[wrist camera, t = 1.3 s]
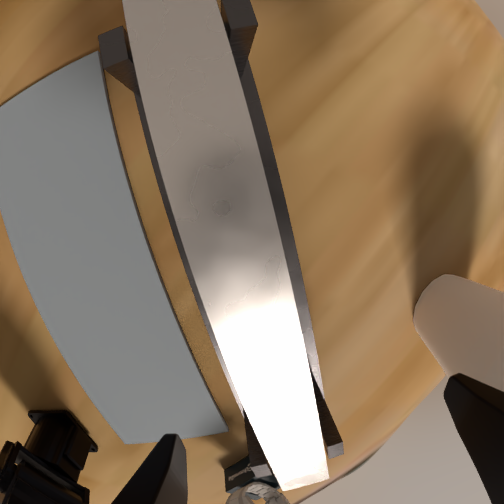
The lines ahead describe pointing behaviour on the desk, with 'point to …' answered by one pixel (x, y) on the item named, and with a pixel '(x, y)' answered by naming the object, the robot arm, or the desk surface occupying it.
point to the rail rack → (240, 39)
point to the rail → (228, 223)
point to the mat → (96, 259)
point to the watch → (251, 485)
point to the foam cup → (463, 328)
